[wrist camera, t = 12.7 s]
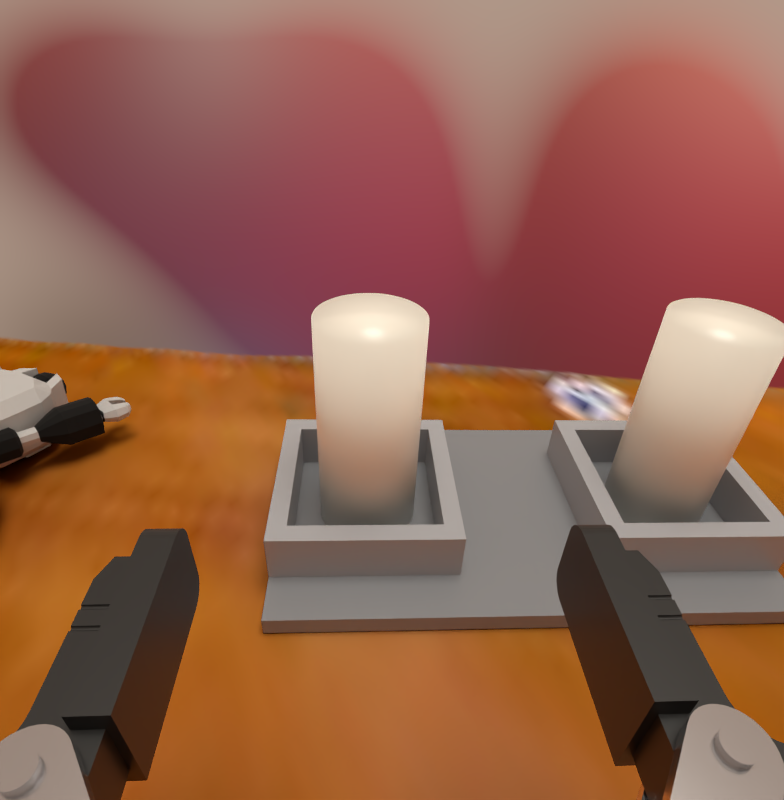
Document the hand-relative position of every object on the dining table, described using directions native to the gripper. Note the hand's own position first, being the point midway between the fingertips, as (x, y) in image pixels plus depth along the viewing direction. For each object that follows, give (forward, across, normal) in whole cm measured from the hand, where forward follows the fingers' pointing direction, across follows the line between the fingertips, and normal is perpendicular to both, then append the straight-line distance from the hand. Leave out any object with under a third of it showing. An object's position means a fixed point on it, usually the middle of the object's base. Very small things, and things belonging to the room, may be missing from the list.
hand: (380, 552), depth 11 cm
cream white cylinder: (+11, 0, +10) cm, 15 cm away
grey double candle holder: (+11, -7, +11) cm, 17 cm away
